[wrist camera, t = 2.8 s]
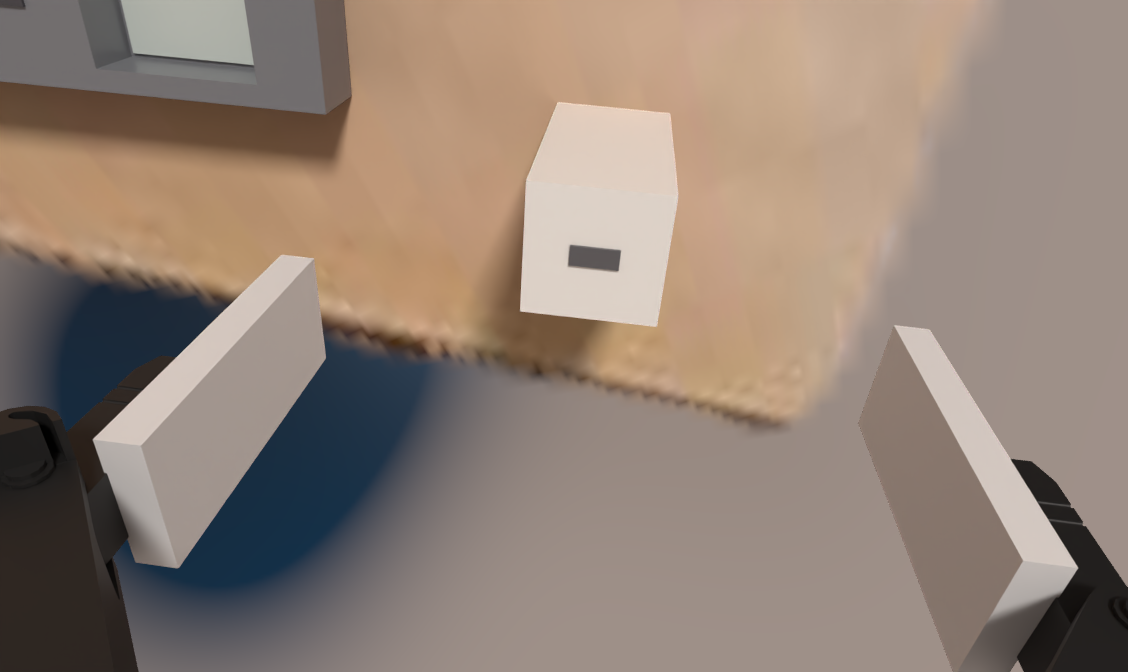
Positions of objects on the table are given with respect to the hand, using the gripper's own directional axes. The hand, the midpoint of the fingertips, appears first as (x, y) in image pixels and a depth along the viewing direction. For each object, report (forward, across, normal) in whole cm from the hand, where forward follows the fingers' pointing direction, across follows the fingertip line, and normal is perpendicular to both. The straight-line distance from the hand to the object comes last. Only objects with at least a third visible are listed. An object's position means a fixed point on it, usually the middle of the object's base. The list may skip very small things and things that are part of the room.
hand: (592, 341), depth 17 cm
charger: (+12, 0, 0) cm, 12 cm away
